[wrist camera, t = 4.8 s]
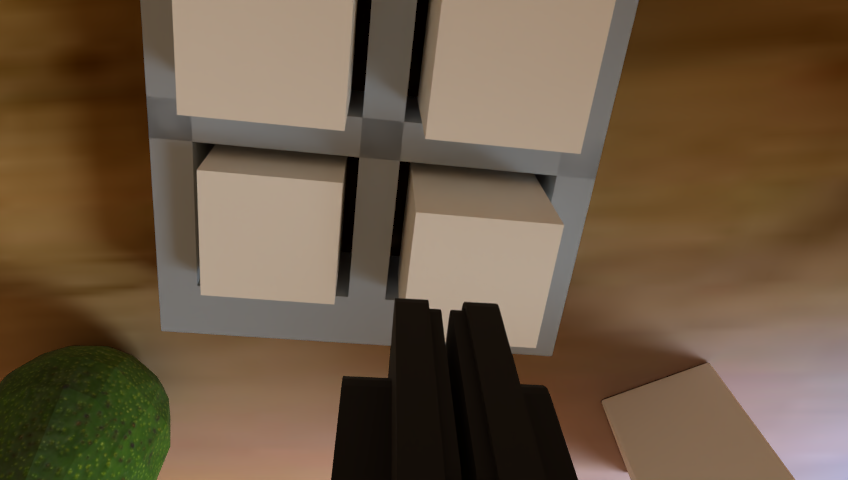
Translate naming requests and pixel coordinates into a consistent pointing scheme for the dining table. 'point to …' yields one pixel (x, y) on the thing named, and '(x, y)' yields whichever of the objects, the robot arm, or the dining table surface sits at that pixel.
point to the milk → (690, 431)
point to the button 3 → (512, 71)
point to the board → (376, 188)
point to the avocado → (83, 418)
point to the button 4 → (479, 244)
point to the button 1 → (265, 60)
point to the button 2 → (270, 223)
